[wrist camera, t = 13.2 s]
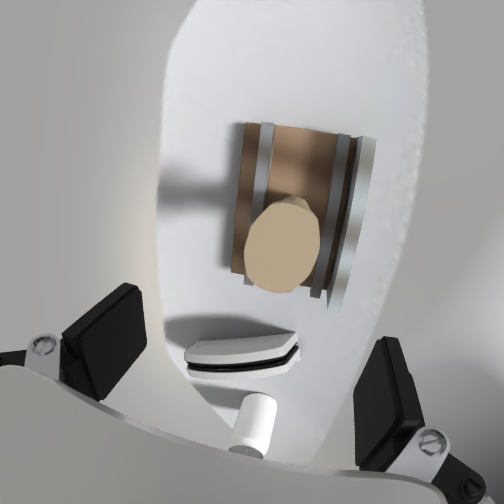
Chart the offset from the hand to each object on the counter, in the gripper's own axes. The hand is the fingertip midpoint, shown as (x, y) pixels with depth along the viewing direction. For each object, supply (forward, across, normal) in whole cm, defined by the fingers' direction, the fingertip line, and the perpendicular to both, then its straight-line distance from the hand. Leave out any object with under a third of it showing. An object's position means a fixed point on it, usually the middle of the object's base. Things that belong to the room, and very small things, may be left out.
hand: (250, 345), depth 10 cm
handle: (+25, 0, 0) cm, 25 cm away
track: (+26, 0, 0) cm, 26 cm away
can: (+26, 0, +36) cm, 45 cm away
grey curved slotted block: (+27, +4, +22) cm, 35 cm away
